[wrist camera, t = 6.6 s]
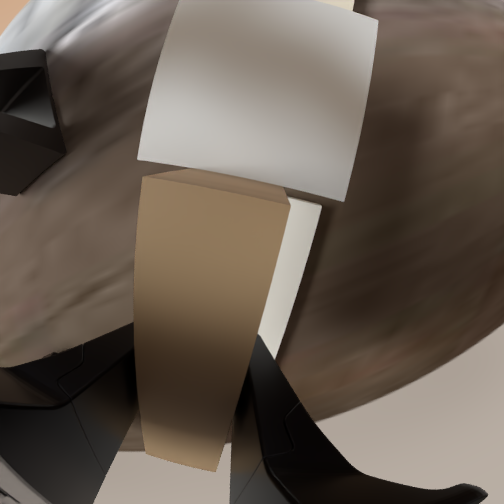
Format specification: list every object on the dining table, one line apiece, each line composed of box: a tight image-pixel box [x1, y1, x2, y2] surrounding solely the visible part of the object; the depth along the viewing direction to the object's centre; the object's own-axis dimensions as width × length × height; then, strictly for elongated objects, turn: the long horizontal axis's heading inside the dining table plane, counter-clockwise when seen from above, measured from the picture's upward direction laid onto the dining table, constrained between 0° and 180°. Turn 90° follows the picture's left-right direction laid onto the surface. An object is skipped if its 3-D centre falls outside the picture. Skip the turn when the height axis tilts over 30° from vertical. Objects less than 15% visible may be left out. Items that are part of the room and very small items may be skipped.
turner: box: [134, 0, 378, 472], centre depth 7 cm, size 15×6×4 cm, turn 168°
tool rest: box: [258, 196, 322, 360], centre depth 16 cm, size 15×7×1 cm, turn 168°
